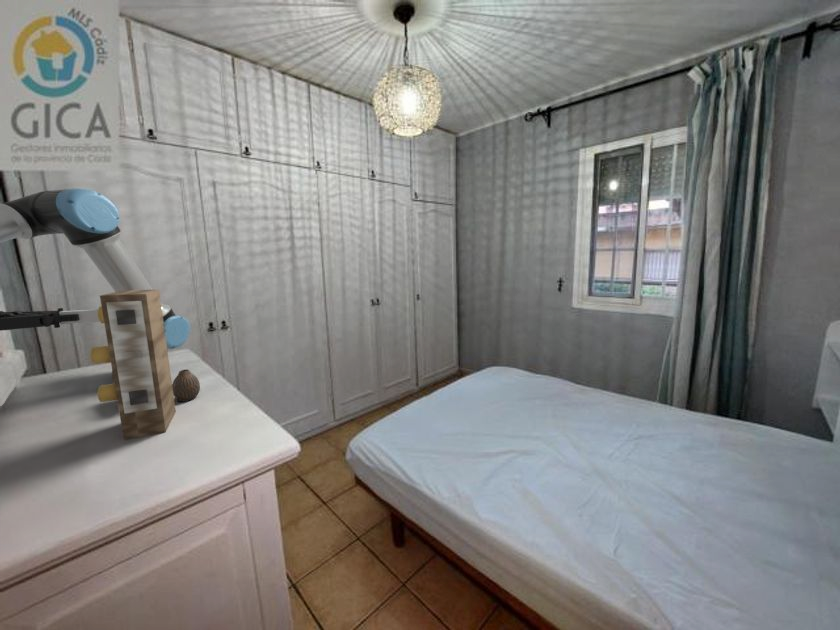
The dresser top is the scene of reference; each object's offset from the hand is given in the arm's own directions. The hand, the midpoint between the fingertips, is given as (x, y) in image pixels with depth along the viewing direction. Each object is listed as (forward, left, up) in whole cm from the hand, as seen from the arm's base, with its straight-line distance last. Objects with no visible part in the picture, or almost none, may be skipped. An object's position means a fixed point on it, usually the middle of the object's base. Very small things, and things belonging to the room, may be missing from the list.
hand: (99, 315), depth 77 cm
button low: (0, 0, -21) cm, 21 cm away
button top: (-1, +2, -2) cm, 3 cm away
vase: (-19, +2, -29) cm, 35 cm away
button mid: (0, 0, -11) cm, 11 cm away
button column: (-3, +5, -29) cm, 30 cm away
